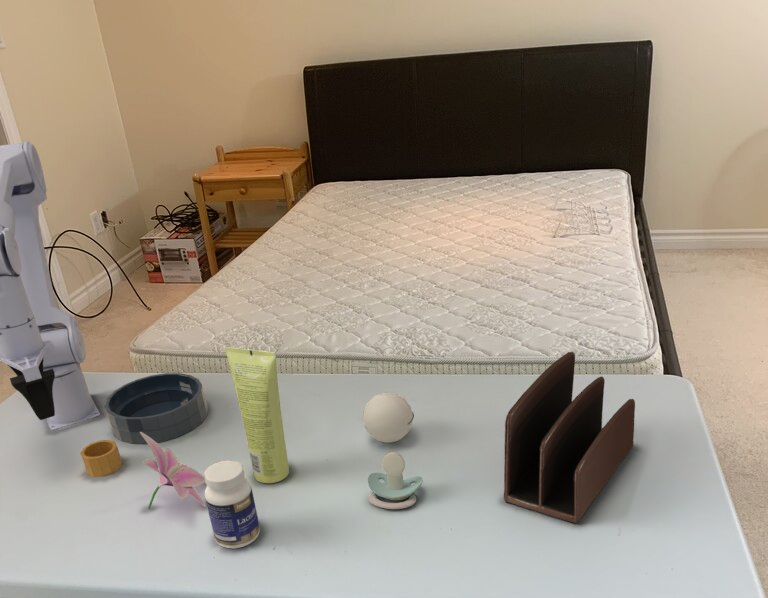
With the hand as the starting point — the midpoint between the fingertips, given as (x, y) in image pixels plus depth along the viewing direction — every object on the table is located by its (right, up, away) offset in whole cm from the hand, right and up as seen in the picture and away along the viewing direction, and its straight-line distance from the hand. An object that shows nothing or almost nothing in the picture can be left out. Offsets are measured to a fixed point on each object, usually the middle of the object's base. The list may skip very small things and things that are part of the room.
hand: (43, 406), depth 111 cm
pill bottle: (+32, -17, -15) cm, 39 cm away
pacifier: (+51, -12, -11) cm, 54 cm away
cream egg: (+51, -4, +3) cm, 52 cm away
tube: (+34, -10, -4) cm, 36 cm away
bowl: (+14, -2, +13) cm, 19 cm away
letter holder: (+75, -9, -10) cm, 76 cm away
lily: (+22, -13, -7) cm, 27 cm away
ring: (+9, -9, +1) cm, 13 cm away
